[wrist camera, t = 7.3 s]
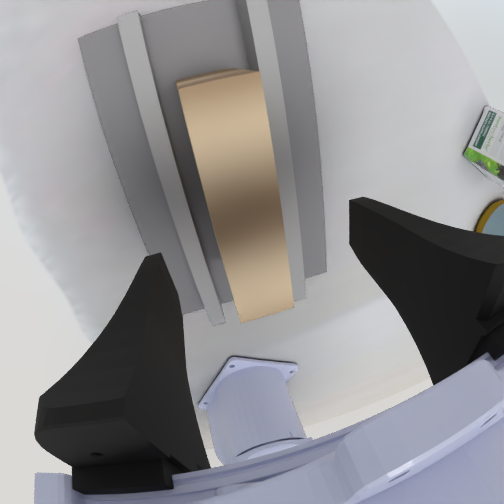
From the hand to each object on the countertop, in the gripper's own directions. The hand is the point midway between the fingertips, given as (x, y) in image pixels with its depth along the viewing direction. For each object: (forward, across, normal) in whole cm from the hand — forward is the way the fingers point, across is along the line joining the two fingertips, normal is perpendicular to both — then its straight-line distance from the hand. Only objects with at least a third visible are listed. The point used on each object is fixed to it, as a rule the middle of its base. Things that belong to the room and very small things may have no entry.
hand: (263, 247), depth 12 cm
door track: (+9, 0, 0) cm, 9 cm away
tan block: (+8, 0, 0) cm, 8 cm away
